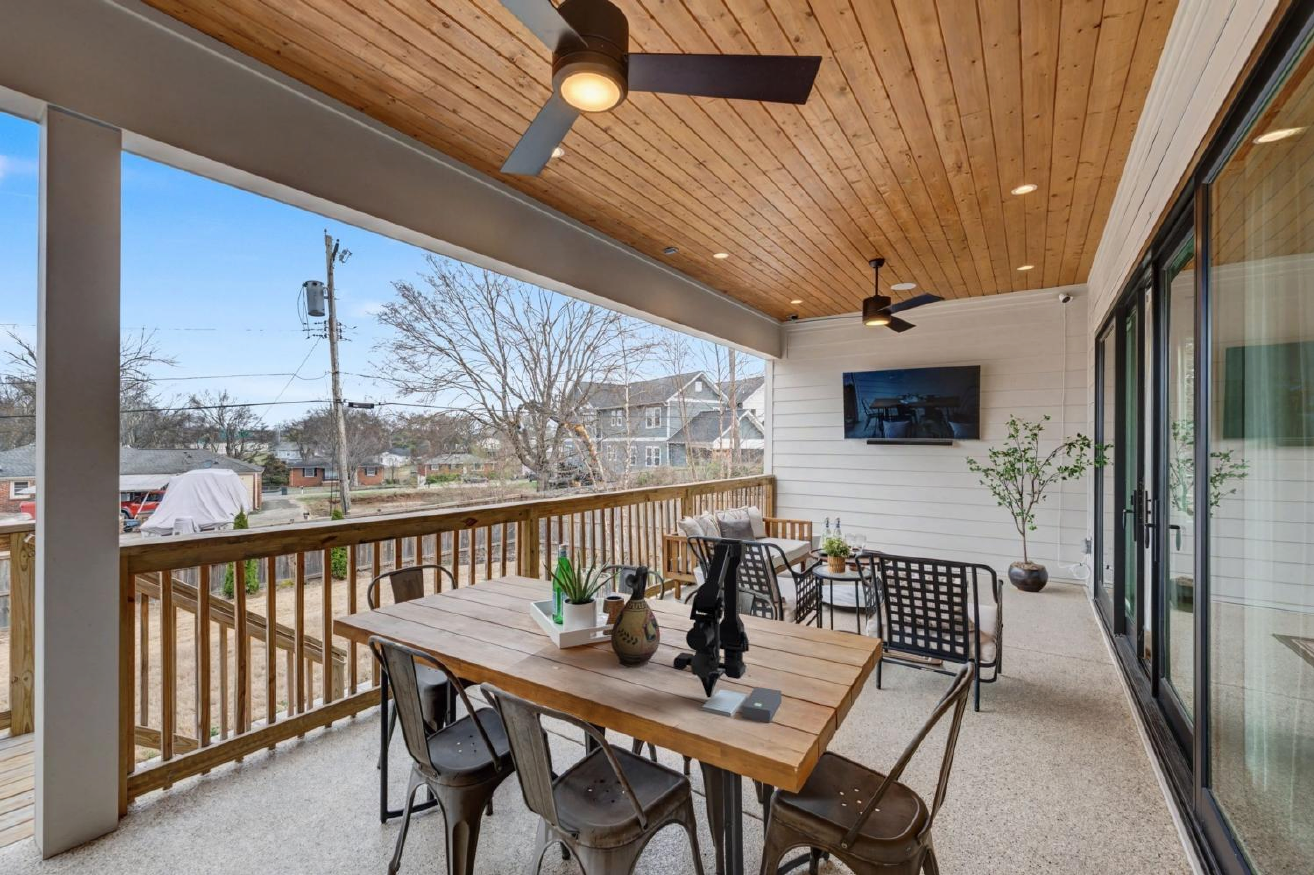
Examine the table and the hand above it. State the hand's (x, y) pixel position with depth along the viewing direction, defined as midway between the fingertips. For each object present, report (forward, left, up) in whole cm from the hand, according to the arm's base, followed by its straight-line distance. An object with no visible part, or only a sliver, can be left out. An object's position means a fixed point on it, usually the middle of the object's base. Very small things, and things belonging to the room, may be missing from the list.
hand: (709, 697), depth 159 cm
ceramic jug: (-18, -30, -1) cm, 35 cm away
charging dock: (0, +15, -1) cm, 15 cm away
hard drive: (+1, +5, -2) cm, 5 cm away
